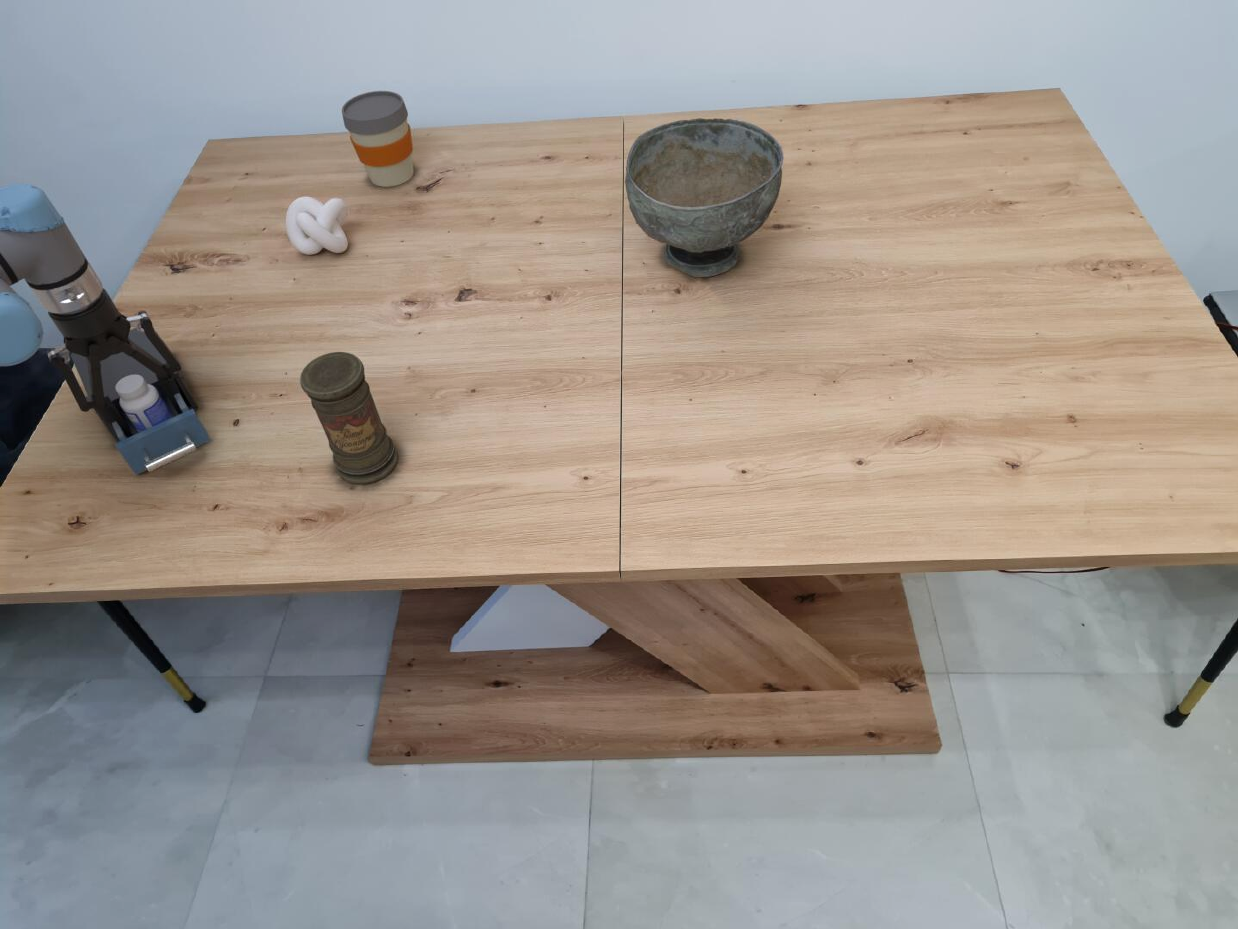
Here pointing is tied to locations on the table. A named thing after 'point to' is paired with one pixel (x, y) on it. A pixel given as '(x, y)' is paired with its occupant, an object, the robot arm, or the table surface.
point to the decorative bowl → (703, 189)
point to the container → (349, 417)
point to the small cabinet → (127, 374)
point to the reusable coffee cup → (381, 136)
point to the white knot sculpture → (317, 225)
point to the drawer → (161, 437)
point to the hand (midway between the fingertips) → (154, 421)
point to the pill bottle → (142, 403)
